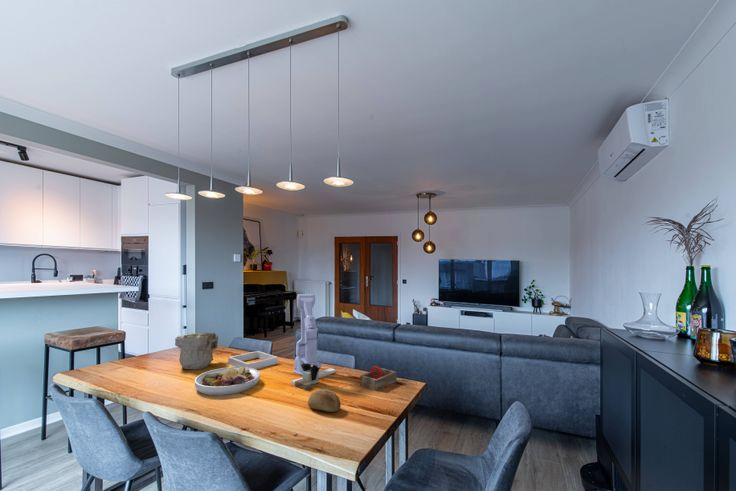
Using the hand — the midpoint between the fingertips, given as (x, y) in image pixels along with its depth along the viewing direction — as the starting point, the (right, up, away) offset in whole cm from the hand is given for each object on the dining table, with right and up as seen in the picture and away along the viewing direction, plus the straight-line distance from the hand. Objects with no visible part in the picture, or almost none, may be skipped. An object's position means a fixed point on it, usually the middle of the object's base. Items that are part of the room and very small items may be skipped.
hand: (310, 378), depth 169 cm
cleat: (-2, -2, -6) cm, 7 cm away
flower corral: (-40, -4, +31) cm, 51 cm away
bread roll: (+11, -1, -30) cm, 32 cm away
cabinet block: (0, -2, 0) cm, 2 cm away
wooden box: (+35, -3, +1) cm, 35 cm away
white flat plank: (+1, -3, +8) cm, 9 cm away
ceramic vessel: (-71, -3, +27) cm, 76 cm away
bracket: (+35, -3, +1) cm, 35 cm away
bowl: (-40, -2, -5) cm, 41 cm away
